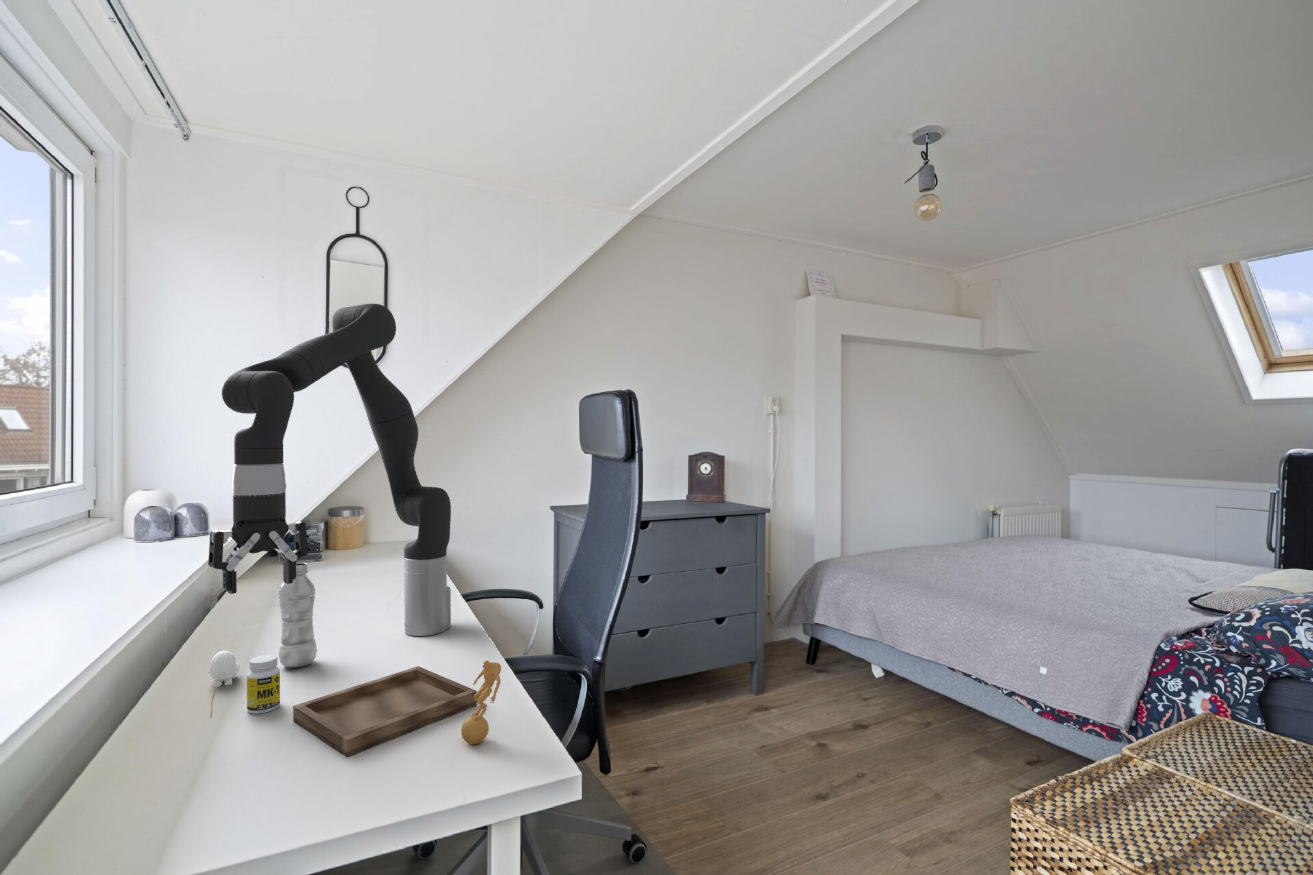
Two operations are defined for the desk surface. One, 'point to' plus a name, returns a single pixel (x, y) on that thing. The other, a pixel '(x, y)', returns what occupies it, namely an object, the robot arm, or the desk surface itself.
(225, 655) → the toy creature
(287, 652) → the plastic bottle
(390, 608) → the desk surface
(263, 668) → the supplement bottle
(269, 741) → the desk surface
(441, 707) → the walnut tray
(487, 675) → the figurine
